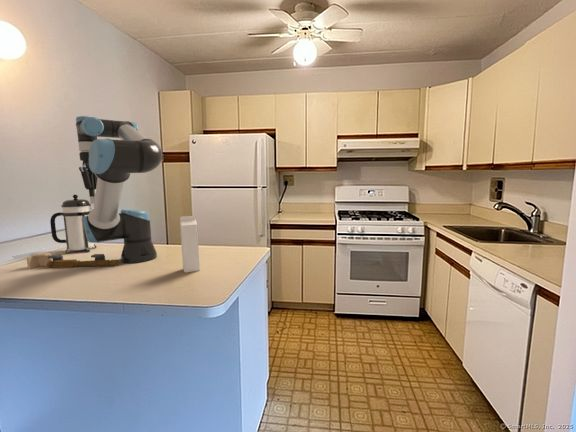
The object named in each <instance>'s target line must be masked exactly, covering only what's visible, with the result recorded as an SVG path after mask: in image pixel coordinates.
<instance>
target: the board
mask: <svg viewBox="0 0 576 432" xmlns="http://www.w3.org/2000/svg"><path fill="white" fill-rule="evenodd" d="M90 258H94V260H106V255H105V254H104V253H94V254H92V255H90ZM56 260H64V257H63V255H62V254H51V252H38V253H34V254H33V255H31V256H27V257H26V264H27V270H31V269H35V268H37V267H46V266H47V263H48V262H49V261H53V262H54V261H56ZM47 267H48V266H47Z"/></svg>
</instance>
